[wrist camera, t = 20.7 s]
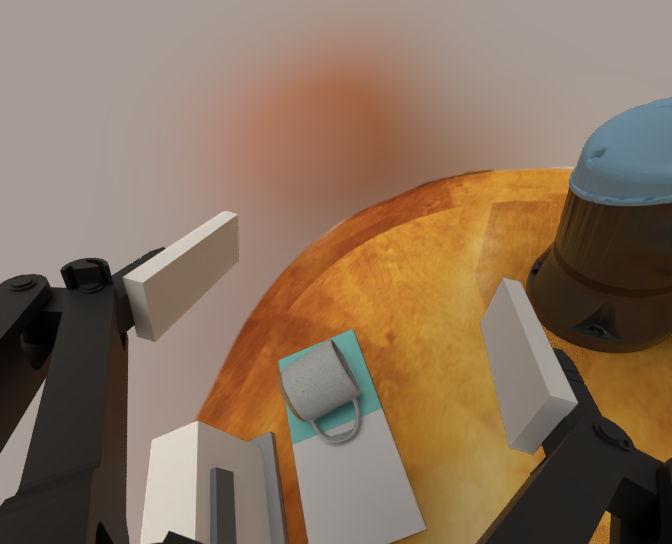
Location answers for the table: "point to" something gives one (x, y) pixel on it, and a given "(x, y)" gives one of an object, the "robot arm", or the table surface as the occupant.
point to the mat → (352, 468)
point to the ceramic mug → (320, 387)
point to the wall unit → (214, 488)
